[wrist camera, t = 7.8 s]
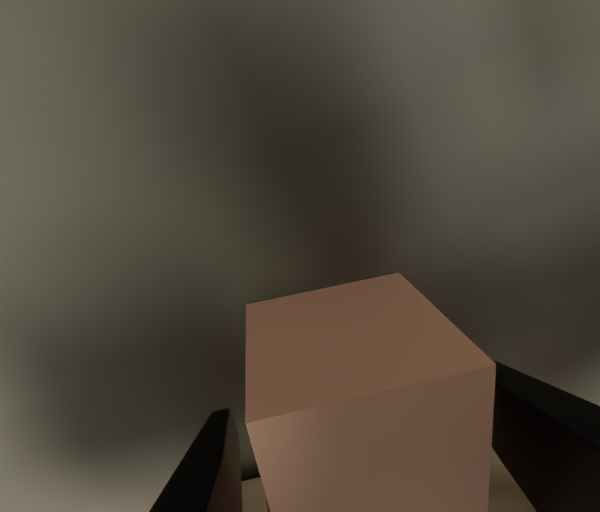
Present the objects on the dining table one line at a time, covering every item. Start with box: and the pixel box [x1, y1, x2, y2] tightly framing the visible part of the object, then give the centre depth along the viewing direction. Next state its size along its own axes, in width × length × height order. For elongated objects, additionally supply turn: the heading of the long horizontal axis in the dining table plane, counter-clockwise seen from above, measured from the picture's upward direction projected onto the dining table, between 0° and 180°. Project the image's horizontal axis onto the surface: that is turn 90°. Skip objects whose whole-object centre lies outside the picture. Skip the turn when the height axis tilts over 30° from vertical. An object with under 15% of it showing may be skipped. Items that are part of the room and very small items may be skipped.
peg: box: [245, 272, 496, 512], centre depth 9 cm, size 4×10×4 cm, turn 9°
